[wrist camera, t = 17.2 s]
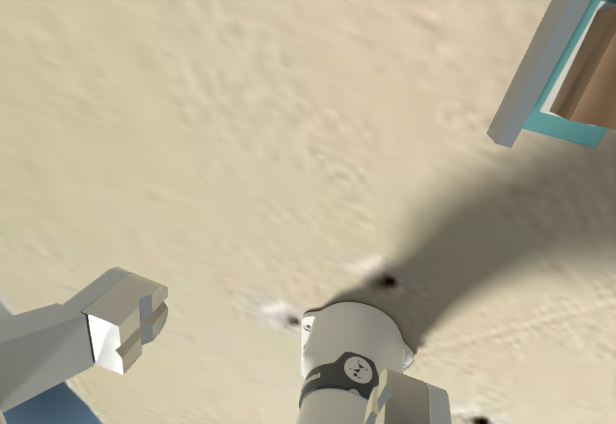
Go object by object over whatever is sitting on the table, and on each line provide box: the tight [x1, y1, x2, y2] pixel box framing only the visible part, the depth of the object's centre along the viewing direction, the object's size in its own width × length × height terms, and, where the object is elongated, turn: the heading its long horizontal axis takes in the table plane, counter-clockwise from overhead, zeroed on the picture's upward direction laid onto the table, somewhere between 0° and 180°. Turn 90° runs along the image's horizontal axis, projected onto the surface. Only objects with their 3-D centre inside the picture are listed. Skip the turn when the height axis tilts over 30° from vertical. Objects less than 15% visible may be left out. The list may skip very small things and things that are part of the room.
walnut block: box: [549, 7, 616, 129], centre depth 30 cm, size 4×9×5 cm, turn 172°
